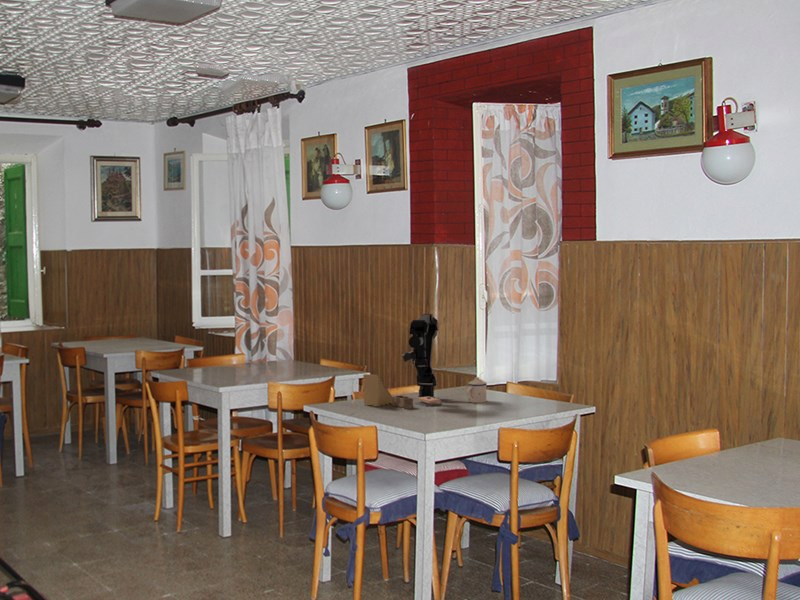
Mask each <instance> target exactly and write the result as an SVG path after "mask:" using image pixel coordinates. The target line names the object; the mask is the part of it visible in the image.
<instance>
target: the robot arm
mask: <svg viewBox="0 0 800 600" xmlns="http://www.w3.org/2000/svg"><path fill="white" fill-rule="evenodd" d="M439 324H440V323H439V321H438V319H437V318H435V317H434V316H433V314H432V313H423V314H421V316H420V317H418V318H417V319H415V318H414V319H412V320H411V321H410V325H409V335H412V336H411V337H410V338H409V340H408V346H410V347H411V348H412V350H411V351H408V352H405V353H403V354H401V358H402V360H403V362H404V363H406V362H408V361H409V360H411V362H412V364H413V366H414V368H415V369H416V385H417V387H419V389H418V396H417V398H419V397H428V396H429V397H433V398H436V397H435V394H434V393H435V392H434V391H435V389H434V388H435V387H437V379H436V375H435V372H434V370H433V368H432V361H433V351H434V340H435V339H436V337H437V336H438V331H439V330H440V325H439Z"/></svg>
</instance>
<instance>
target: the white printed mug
mask: <svg viewBox="0 0 800 600" xmlns="http://www.w3.org/2000/svg"><path fill="white" fill-rule="evenodd" d="M467 387H468V388H467V390H466V392H467V393H466V394H467V398H468V399H467V400H468V402H469V403H472V404H482V403H486V402H487V382H486V381H484V380H482V379H481V378H480V377H479V376H477V377H475V378H474V379H472V380H470V381H468V383H467Z"/></svg>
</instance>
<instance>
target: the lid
mask: <svg viewBox="0 0 800 600" xmlns="http://www.w3.org/2000/svg"><path fill="white" fill-rule="evenodd" d="M418 397H419V396H418ZM418 397H416V401H417V402H424V403H427V404H436V402H439V403H441V399H440V398H436V397H435V398H433V397H429V396H428V397H419V398H418Z"/></svg>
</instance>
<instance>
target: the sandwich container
mask: <svg viewBox="0 0 800 600" xmlns="http://www.w3.org/2000/svg"><path fill="white" fill-rule="evenodd" d="M362 377H363V378H362V379H363V405H364V404H367V405H376V406H379V407H381V406H380V405H383V406H386V405H385V404H387V405H390V404H389V403H391V404H393V395H392V394H391V392H390V391H389V390H388V388H387V387H386V385H384V383H383V382H382V379H381V378H380V377H379V375H378V374H367V373H364V374H363V376H362Z"/></svg>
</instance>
